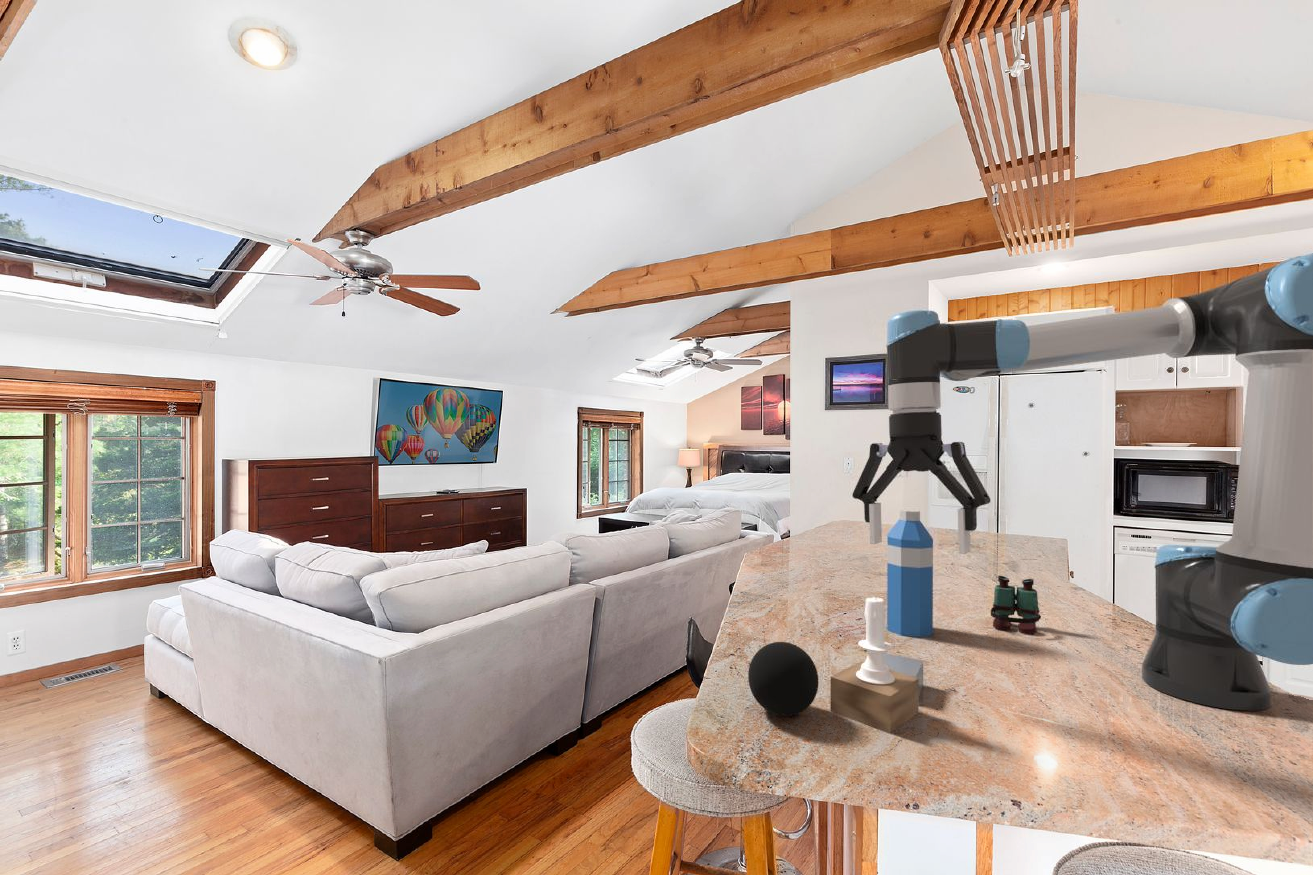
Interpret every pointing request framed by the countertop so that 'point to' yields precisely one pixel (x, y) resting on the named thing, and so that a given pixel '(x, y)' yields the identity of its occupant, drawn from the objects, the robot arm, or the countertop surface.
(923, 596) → the water bottle
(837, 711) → the walnut block
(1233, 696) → the robot arm
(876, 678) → the candle
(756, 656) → the decorative ball
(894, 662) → the slate block
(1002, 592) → the binoculars
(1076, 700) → the countertop surface
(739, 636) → the countertop surface
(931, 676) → the countertop surface
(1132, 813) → the countertop surface
